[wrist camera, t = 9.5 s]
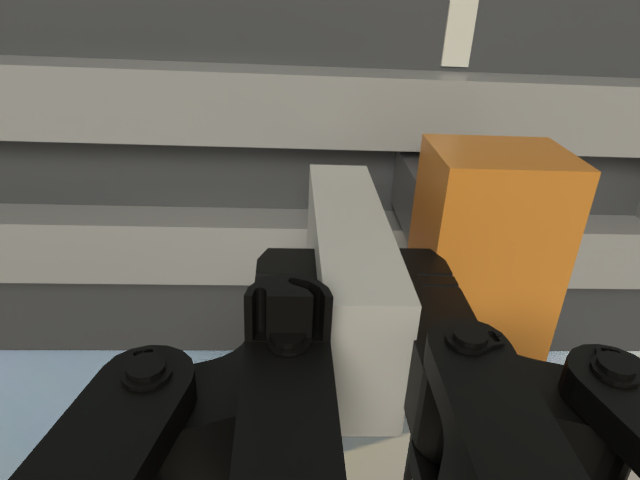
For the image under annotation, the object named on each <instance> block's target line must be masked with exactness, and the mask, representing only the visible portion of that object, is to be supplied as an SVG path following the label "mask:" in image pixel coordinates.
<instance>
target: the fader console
mask: <svg viewBox="0 0 640 480" xmlns="http://www.w3.org/2000/svg"><path fill="white" fill-rule="evenodd" d="M422 134H456V135H490V136H525V137H549V138H551V139H552V140H554V141H555V142H557V143H558V144H560V145H561V146H563V147H564V148H566V149H567V150H569V151H570V152H572V153H573V154H575V155H576V156H578V157H579V158H581V159H582V160H584V161H585V162H587V163H588V164H590V165H591V166H593V167H594V168H596V169H597V170H599V171H600V172H601V175H600V178H599V182H598V185H597V189H596V192H595V196H594V199H593V202H592V206H591V209H590V213H589V216H588V220H587V223H586V226H585V230H584V233H583V237H582V240H581V243H580V247H579V250H578V254H577V257H576V261H575V264H574V267H573V271H572V274H571V278H570V281H569V285H568V288H567V291H566V295H565V298H564V302H563V305H562V308H561V312H560V315H559V319H558V322H557V326H556V329H555V332H554V336H553V339H552V343H551V346H550V350H549V351H571V349H572V348H575V347H578V346H580V345H583V344H601V345H608V346H613V347H617V348H620V349H621V350H624V351H639V350H640V0H0V350H130V349H132V348H137V347H142V346H147V345H167V346H171V347H174V348H177V349H180V350H235V349H237V348H238V347H239V346H241V345H242V344H243V342H244V341H245V339H244V294H245V292H246V290H247V288H248V287H249V286H250V285H252V284H253V283H254V282H255V276H256V265H257V259H258V258H259V257H260V256H261V255H262V254H263V253H264V252H265V251H266V250H267V248H307V227H308V200H309V173H310V164H313V165H353V166H367V168H368V171H369V173H370V176H371V178H372V181H373V183H374V186H375V189H376V191H377V194H378V196H379V199H380V201H381V204H382V206H383V209H384V212H385V214H386V217H387V219H388V222H389V224H390V227H391V229H392V232H393V235H394V237H395V240H396V242H397V245H398V247H399V248H408V241H407V238H406V236H405V234H404V231H403V229H402V227H401V224H400V222H399V220H398V217H397V215H396V213H395V210H394V208H393V206H392V204H391V197H392V188H393V179H394V170H395V161H396V152H397V151H405V152H420V149H421V141H422Z"/></svg>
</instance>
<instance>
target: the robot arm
mask: <svg viewBox="0 0 640 480" xmlns="http://www.w3.org/2000/svg"><path fill="white" fill-rule="evenodd" d="M244 339H245V341H244V342H243V344H242V345H241V346H239V347H238V348H237V349H235V350H234V351H233V352H231V353H229V354H227V355H225V356H223V357H219V358H216V359H213V360H209V361H205V362H200V363H196V364H193V362H192V359H191V357H189V356H188V355H187V354H186V353H185V352H183V351H182V350H180V349H177V348H174V347H171V346H167V345H147V346H142V347H137V348H132V349H130V350H128V351H125V352H123V353H121V354H119V355H117V356H115V357H114V358H113V359H111V360H110V361H109V362H108V363H107V364H105V365H104V366H103V367H102V368H101V369H100V371H99V372H98V373H97V374H96V375H95V377H94V378H93V379H92V380H91V381H90V383H89V384H88V385H87V386H86V387H85V389H84V390H83V391H82V392H81V393H80V395H79V396H78V397H77V398H76V399H75V400H74V402H73V403H72V404H71V405H70V406H69V408H68V409H67V410H66V411H65V412H64V414H63V415H62V416H61V417H60V418H59V420H58V421H57V422H56V423H55V424H54V426H53V427H52V428H51V429H50V430H49V431H48V433H47V434H46V435H45V436H44V437H43V439H42V440H41V441H40V442H39V443H38V445H37V446H36V447H35V448H34V449H33V451H32V452H31V453H30V454H29V455H28V457H27V458H26V459H25V460H24V461H23V462H22V464H21V465H20V466H19V467H18V468H17V470H16V471H15V472H14V473H13V474H12V476H11V477H10V478H9V479H8V480H347V479H346V471H345V462H344V453H343V444H342V437H380V436H402V432H403V425H404V419H405V414H406V418H407V422H408V425H409V429H410V433H411V436H410V442H409V448H408V454H407V460H406V466H405V473H404V479H403V480H627V479H628V476H629V474H630V472H631V470H633V471H634V473H636V475H637V476H638V477H639V478H640V358H639V357H637V356H636V355H634V354H631V353H629V352H626V351H624V350H621V349H620V348H617V347H613V346H608V345H601V344H583V345H580V346H578V347H575V348H572V349H571V351H570V352H569V354H568V355H567V357H566V361H565V364H564V365H560V364H555V363H550V362H546V361H541V360H536V359H532V358H528V357H525V356H521V355H518V354H517V353H516V351H515V349H514V348H513V346H512V344H511V343H510V341H509V340H508V339H507V338H506V337H505V336H504V335H503V333H502V332H500V331H498V330H497V329H495V328H494V327H492V326H490V325H489V324H486V323H483V322H480V321H478V320H477V318H476V316H475V314H474V312H473V311H472V309H471V307H470V305H469V303H468V301H467V299H466V297H465V296H464V294H463V292H462V290H461V288H460V287H459V284H458V282H457V281H456V279H455V277H454V276H453V273H452V271H451V269H450V267H449V266H448V264H447V262H446V260H445V259H443V258H442V257H441V256H439V255H438V254H437V253H435V252H434V251H433V250H431V249H424V248H399V247H398V245H397V242H396V240H395V237H394V235H393V232H392V229H391V227H390V224H389V222H388V219H387V217H386V214H385V212H384V209H383V206H382V204H381V201H380V199H379V196H378V194H377V191H376V189H375V186H374V183H373V181H372V178H371V176H370V173H369V171H368V168H367V166H353V165H313V164H310V173H309V200H308V227H307V248H267V250H266V251H265V252H264V253H263V254H262V255H261V256H260V257H259V258H258V259H257V265H256V276H255V282H254V283H253V284H252V285H250V286H249V287H248V288H247V290H246V292H245V294H244Z"/></svg>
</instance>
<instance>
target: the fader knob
mask: <svg viewBox="0 0 640 480" xmlns="http://www.w3.org/2000/svg"><path fill="white" fill-rule="evenodd" d="M600 175H601V172H600V171H599V170H597V169H596V168H594V167H593V166H591V165H590V164H588V163H587V162H585V161H584V160H582V159H581V158H579V157H578V156H576V155H575V154H573V153H572V152H570V151H569V150H567V149H566V148H564V147H563V146H561V145H560V144H558V143H557V142H555V141H554V140H552V139H551V138H549V137H525V136H490V135H456V134H422V141H421V149H420V152H405V151H397V152H396V161H395V170H394V179H393V188H392V197H391V204H392V206H393V208H394V210H395V213H396V215H397V217H398V220H399V222H400V224H401V227H402V229H403V231H404V234H405V236H406V238H407V241H408V248H424V249H431V250H433V251H434V252H435V253H437V254H438V255H439V256H441V257H442V258H443V259H445V260H446V262H447V264H448V266H449V267H450V269H451V271H452V273H453V276H454V277H455V279H456V281H457V282H458V284H459V287H460V288H461V290H462V292H463V294H464V296H465V297H466V299H467V301H468V303H469V305H470V307H471V309H472V311H473V312H474V314H475V316H476V318H477V320H478V321H480V322H483V323H486V324H489V325H490V326H492V327H494V328H495V329H497V330H498V331H500V332H502V333H503V335H504V336H505V337H506V338H507V339H508V340H509V341H510V343H511V344H512V346H513V348H514V349H515V351H516V353H517V354H518V355H521V356H525V357H528V358H532V359H536V360H541V361H546V360H547V356H548V353H549V350H550V346H551V343H552V339H553V336H554V332H555V329H556V326H557V322H558V319H559V315H560V312H561V308H562V305H563V302H564V298H565V295H566V291H567V288H568V285H569V281H570V278H571V274H572V271H573V267H574V264H575V261H576V257H577V254H578V250H579V247H580V243H581V240H582V237H583V233H584V230H585V226H586V223H587V220H588V216H589V213H590V209H591V206H592V202H593V199H594V196H595V192H596V189H597V185H598V182H599V178H600Z"/></svg>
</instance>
